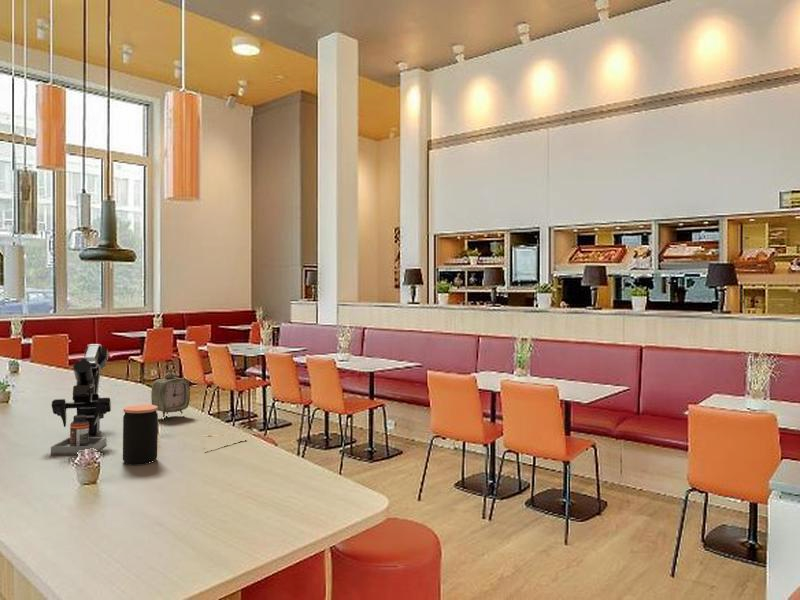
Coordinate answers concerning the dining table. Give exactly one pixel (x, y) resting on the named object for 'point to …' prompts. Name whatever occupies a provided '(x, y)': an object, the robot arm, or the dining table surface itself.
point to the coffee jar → (140, 434)
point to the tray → (66, 449)
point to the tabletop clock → (170, 392)
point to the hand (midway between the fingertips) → (79, 425)
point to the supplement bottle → (79, 431)
